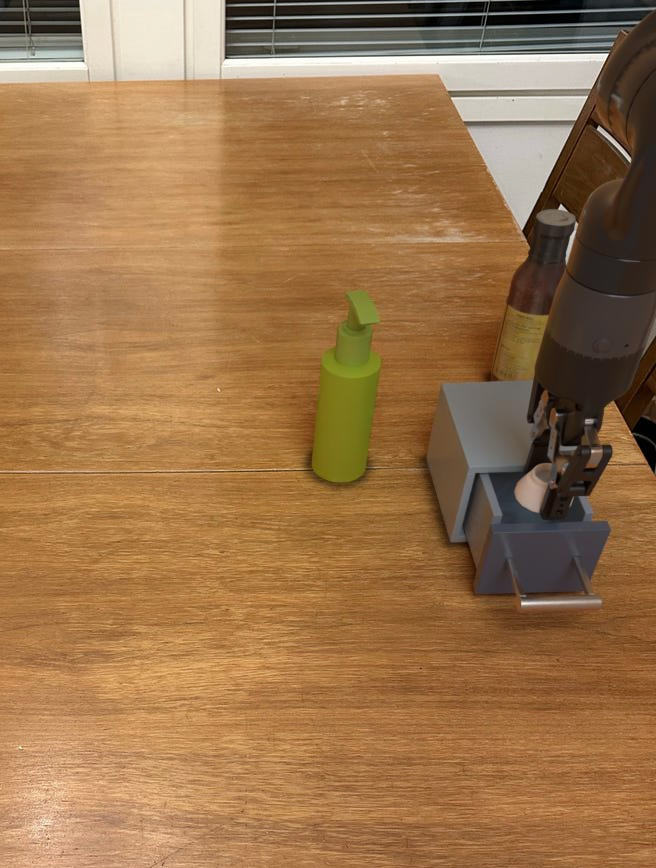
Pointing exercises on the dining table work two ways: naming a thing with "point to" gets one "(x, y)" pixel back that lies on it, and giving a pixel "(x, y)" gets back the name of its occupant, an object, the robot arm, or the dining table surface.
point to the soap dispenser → (347, 395)
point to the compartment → (532, 547)
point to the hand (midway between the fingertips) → (543, 495)
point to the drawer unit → (477, 441)
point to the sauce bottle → (532, 297)
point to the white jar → (534, 487)
